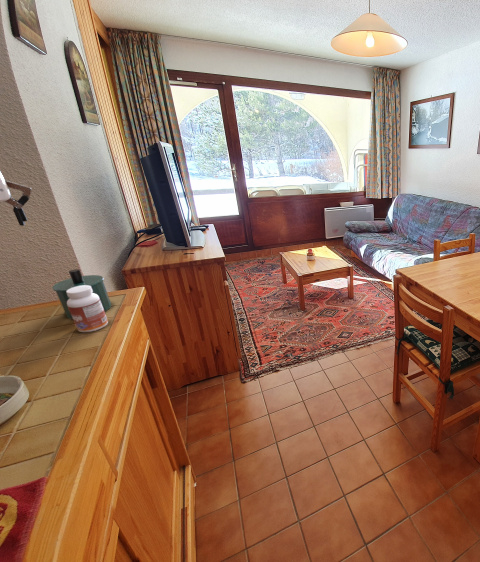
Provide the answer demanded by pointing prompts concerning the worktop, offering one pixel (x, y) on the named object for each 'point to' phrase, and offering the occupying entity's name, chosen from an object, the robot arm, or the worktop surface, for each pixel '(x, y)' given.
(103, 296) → the pot
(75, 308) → the pill bottle
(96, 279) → the pot lid
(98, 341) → the worktop surface
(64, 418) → the worktop surface
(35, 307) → the worktop surface
